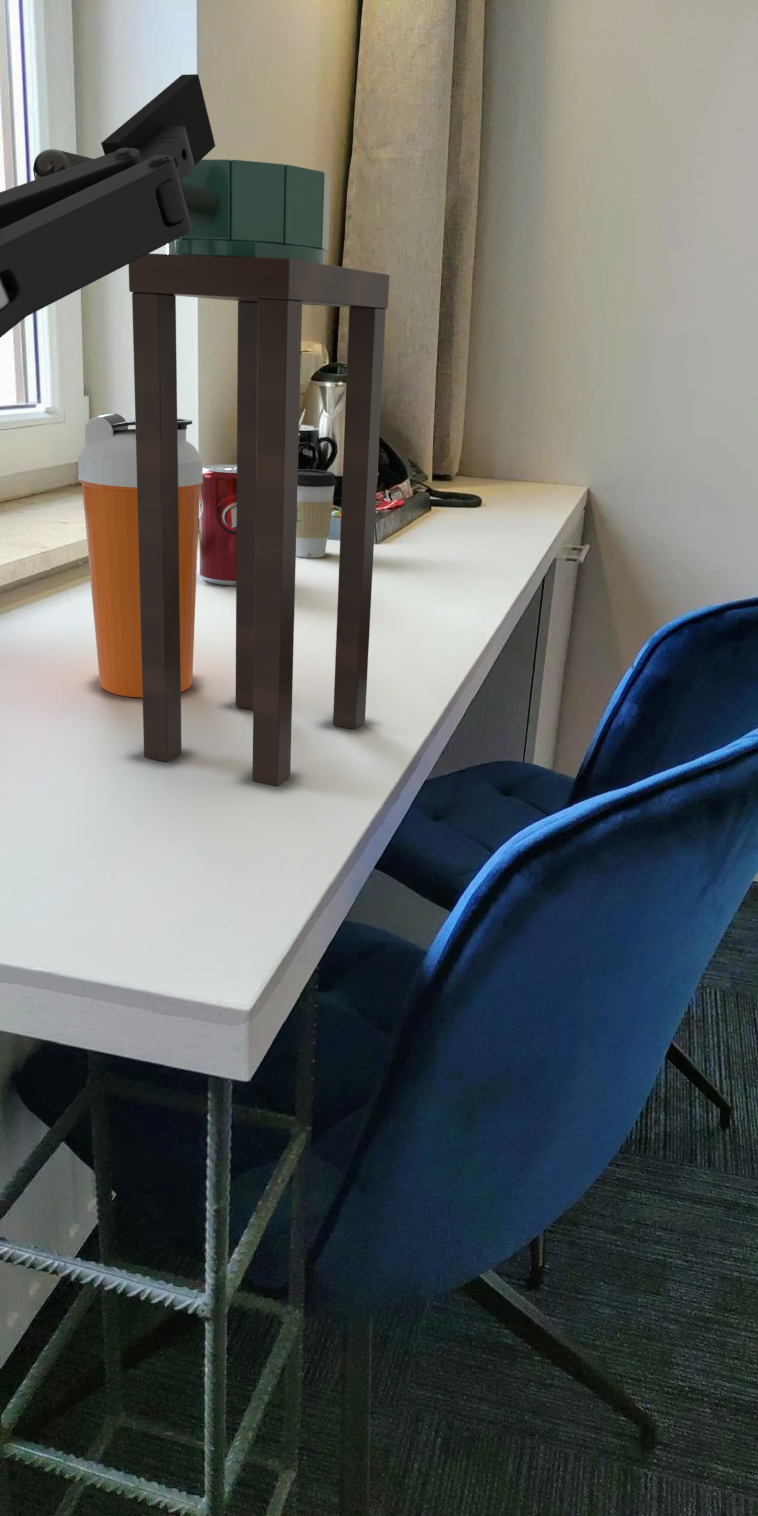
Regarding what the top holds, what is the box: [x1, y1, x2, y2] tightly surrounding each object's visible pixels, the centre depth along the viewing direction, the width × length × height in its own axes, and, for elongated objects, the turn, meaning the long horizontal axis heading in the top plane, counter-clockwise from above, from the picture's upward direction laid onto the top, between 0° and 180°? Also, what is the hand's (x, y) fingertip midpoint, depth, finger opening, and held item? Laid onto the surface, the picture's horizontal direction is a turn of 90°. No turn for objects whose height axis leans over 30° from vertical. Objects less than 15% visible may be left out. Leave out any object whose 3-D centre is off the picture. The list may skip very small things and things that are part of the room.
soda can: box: [198, 463, 237, 587], centre depth 121 cm, size 7×7×12 cm
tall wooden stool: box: [128, 253, 390, 787], centre depth 71 cm, size 14×10×30 cm
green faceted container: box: [32, 148, 331, 264], centre depth 57 cm, size 22×9×5 cm, turn 157°
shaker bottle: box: [77, 412, 204, 699], centre depth 83 cm, size 9×9×20 cm
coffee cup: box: [296, 468, 338, 559], centre depth 137 cm, size 7×7×10 cm
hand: (62, 112), depth 48 cm, fingers open, 13 cm apart
